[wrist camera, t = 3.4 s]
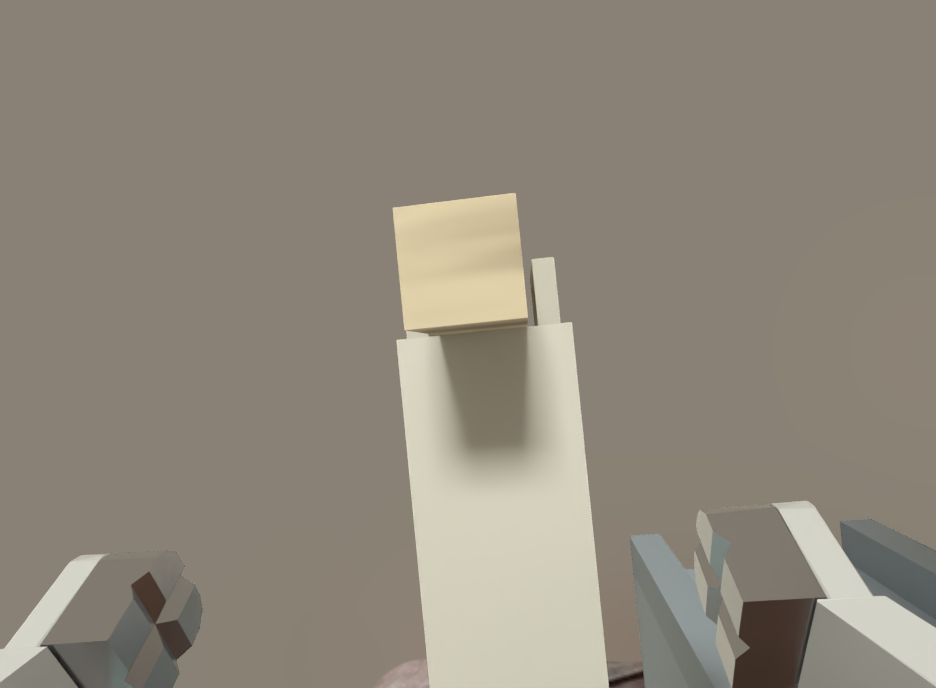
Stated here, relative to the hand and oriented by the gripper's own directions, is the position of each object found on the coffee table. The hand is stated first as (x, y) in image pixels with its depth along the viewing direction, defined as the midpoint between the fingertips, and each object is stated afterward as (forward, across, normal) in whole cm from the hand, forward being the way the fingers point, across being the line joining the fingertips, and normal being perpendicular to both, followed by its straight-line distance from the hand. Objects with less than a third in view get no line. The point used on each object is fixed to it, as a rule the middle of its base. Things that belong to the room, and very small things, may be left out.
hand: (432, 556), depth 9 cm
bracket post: (+8, 0, +30) cm, 31 cm away
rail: (+19, 0, +6) cm, 20 cm away
